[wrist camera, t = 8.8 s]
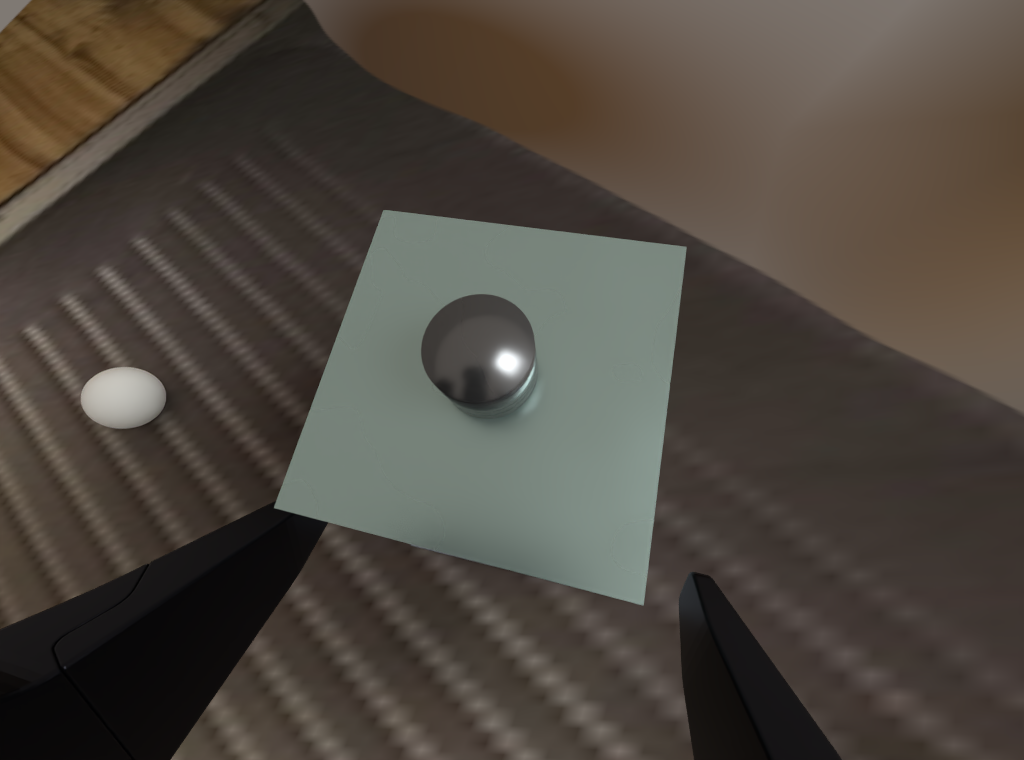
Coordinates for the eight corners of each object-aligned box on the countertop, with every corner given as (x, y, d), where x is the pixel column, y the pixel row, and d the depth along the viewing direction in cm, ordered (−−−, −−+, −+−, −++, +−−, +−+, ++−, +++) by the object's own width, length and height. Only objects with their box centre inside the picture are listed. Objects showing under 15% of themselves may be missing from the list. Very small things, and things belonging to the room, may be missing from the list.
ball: (166, 438, 20) (103, 427, 18) (117, 427, 21) (48, 415, 18) (191, 382, 21) (134, 363, 18) (144, 373, 22) (81, 353, 19)
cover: (580, 534, 17) (665, 630, 4) (465, 506, 18) (216, 509, 5) (599, 417, 18) (711, 198, 5) (492, 397, 19) (356, 163, 6)
